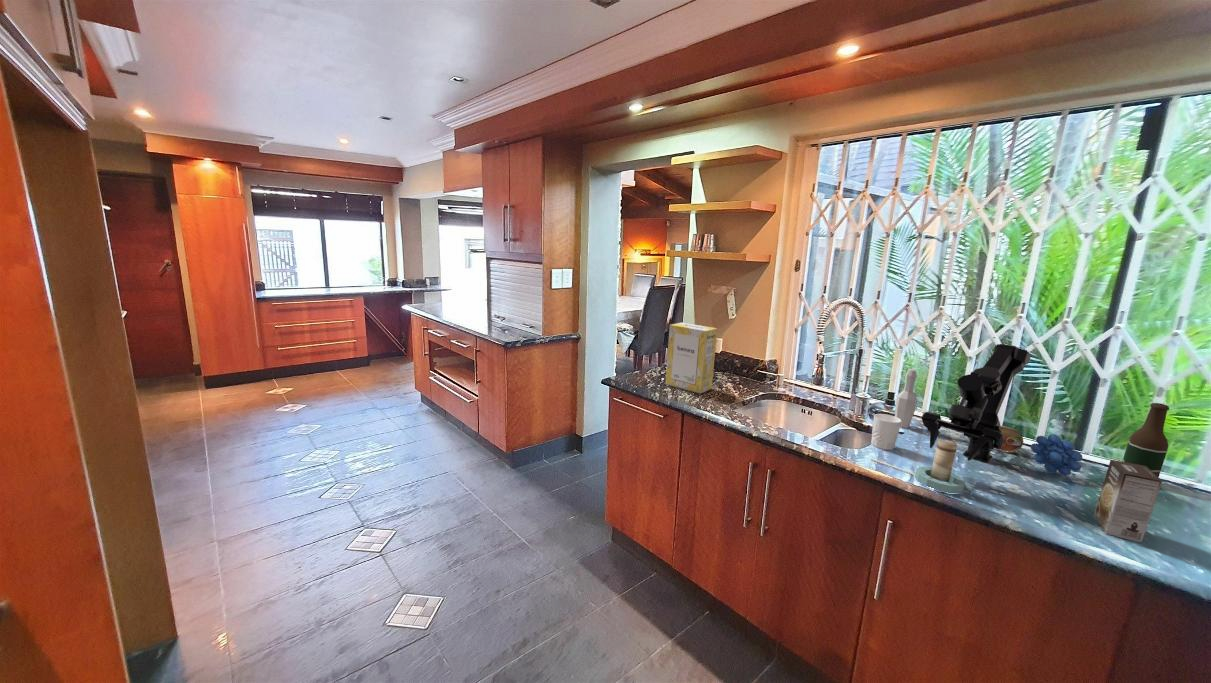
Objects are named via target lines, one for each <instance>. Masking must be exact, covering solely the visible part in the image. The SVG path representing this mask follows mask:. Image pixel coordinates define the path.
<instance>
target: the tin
mask: <svg viewBox="0 0 1211 683" xmlns="http://www.w3.org/2000/svg"><path fill="white" fill-rule="evenodd" d="M1000 427H1001V432H1002V435H1003V444H1002V446H1001V450H1004V451H1008V452H1011V453H1017V452H1018V451H1020V450H1021V449H1022V447H1023V445H1024V438H1023V435H1022V434H1021V432H1019V430H1017V429H1016V428H1012V427H1009V426H1005V425H1001V424H1000ZM966 437H967V439H968V441H969V440H970V437H968V436H966Z"/></svg>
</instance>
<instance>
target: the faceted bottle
mask: <svg viewBox="0 0 1211 683" xmlns="http://www.w3.org/2000/svg"><path fill="white" fill-rule="evenodd" d="M917 376H918V374H917V369H913V368H909V369H907V371H906V373H905V378H904V379H905V381H904V382H905V383H904V388H903V390H902V391H901V392H899V394H897V395H896V398H895V400H896V401H895V404H894V416H895V417H897V418H899V419H901V425H900V428H901V427H903V429H909V428H910V427H911V426H910V425H911V423H912V419H913V418H914V414H915V412H916V408H917V402H918V398H917V397H916V395H915V393H914V388H915V383H916V380H917Z"/></svg>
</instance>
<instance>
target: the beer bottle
mask: <svg viewBox="0 0 1211 683" xmlns="http://www.w3.org/2000/svg"><path fill="white" fill-rule="evenodd" d="M1149 407H1150V408H1149V411H1148V413H1147V416H1146V418H1145V421H1144V422H1143V425H1142V427H1140V428H1138V429H1136V430H1134V432H1133V433H1132V434H1131V435H1130V437H1129V439H1128V442H1127V444H1126V448H1125V451H1124V456H1123V457H1122V462H1127V463H1132V464H1137V465H1143V466H1147V467H1148V468H1149V469H1150V470H1151V471H1152V472H1153V473H1154V474H1155V475H1156V476H1157V477H1158V478H1160V474H1161V471H1162V468H1163V464H1164V461H1165V458H1166V456H1167V453H1168V448H1169V443H1168V438H1167V437H1166V435H1165V434H1164V426H1165V423H1166V420H1167V413H1168V411H1170V406H1169V405H1167V404H1164V403H1159V402H1152V403H1150V404H1149Z"/></svg>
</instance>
